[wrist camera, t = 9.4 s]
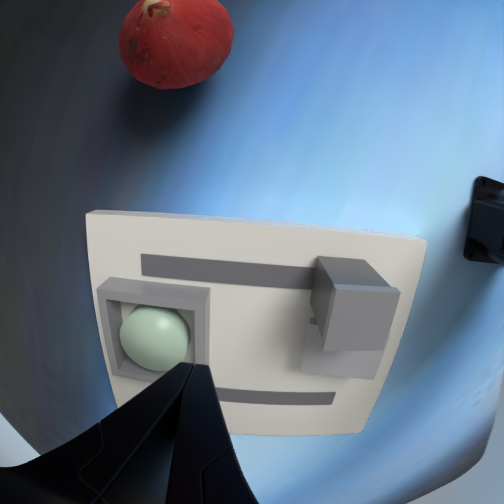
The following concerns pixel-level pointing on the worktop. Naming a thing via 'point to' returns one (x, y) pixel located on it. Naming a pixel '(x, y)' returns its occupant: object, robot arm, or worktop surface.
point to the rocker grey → (338, 358)
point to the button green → (155, 337)
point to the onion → (175, 41)
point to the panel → (243, 309)
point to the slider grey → (352, 305)
